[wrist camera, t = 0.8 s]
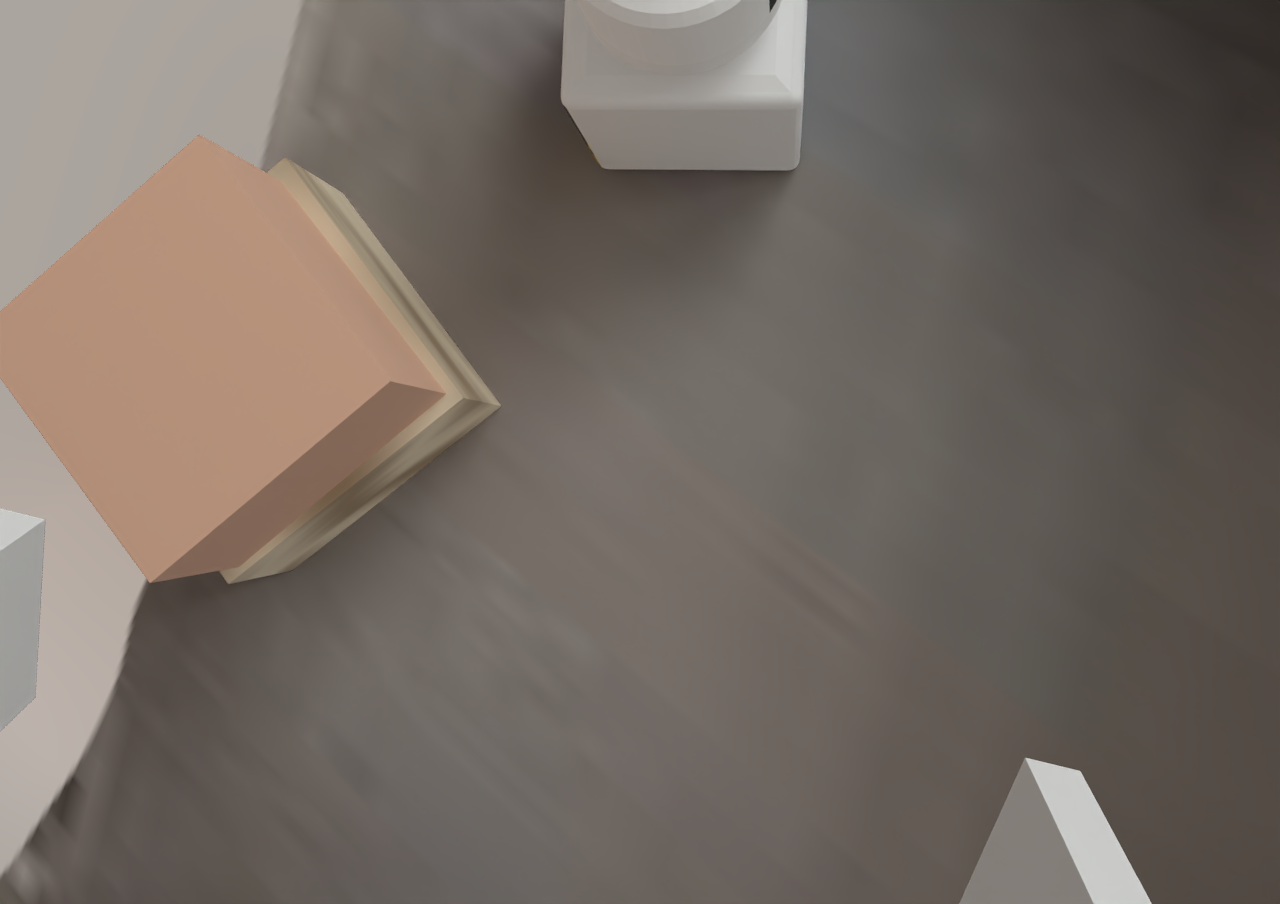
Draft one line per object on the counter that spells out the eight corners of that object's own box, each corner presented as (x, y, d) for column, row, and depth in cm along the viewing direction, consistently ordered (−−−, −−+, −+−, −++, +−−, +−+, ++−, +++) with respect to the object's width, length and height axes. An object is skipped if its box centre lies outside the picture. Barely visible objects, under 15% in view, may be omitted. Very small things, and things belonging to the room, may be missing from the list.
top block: (281, 181, 35) (199, 134, 30) (446, 393, 34) (390, 381, 29) (82, 355, 36) (-30, 337, 31) (238, 566, 35) (150, 583, 30)
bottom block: (346, 195, 40) (284, 157, 35) (503, 406, 39) (463, 397, 34) (147, 359, 41) (60, 345, 36) (296, 569, 40) (228, 584, 35)
